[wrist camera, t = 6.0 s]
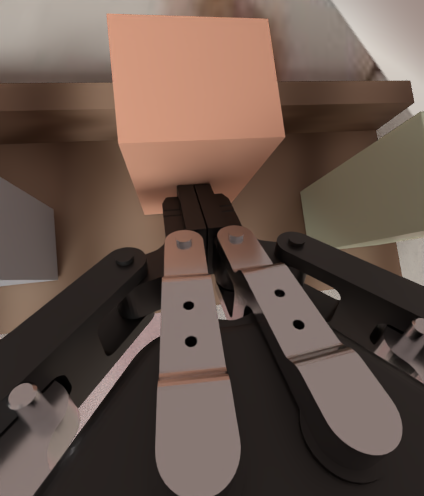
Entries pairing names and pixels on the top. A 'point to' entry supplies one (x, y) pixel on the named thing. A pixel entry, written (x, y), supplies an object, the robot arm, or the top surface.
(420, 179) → the sage key
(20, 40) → the top surface
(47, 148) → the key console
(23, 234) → the slate key
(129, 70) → the terracotta key
